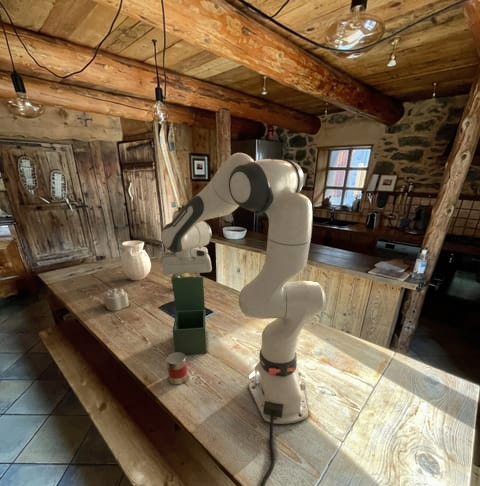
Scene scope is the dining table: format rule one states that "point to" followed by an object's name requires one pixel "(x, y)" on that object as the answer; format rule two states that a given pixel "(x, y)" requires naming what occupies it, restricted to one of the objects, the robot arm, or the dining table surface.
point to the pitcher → (135, 260)
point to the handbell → (180, 275)
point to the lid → (188, 293)
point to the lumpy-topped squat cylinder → (116, 299)
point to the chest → (190, 332)
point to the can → (177, 368)
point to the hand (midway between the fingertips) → (188, 282)
